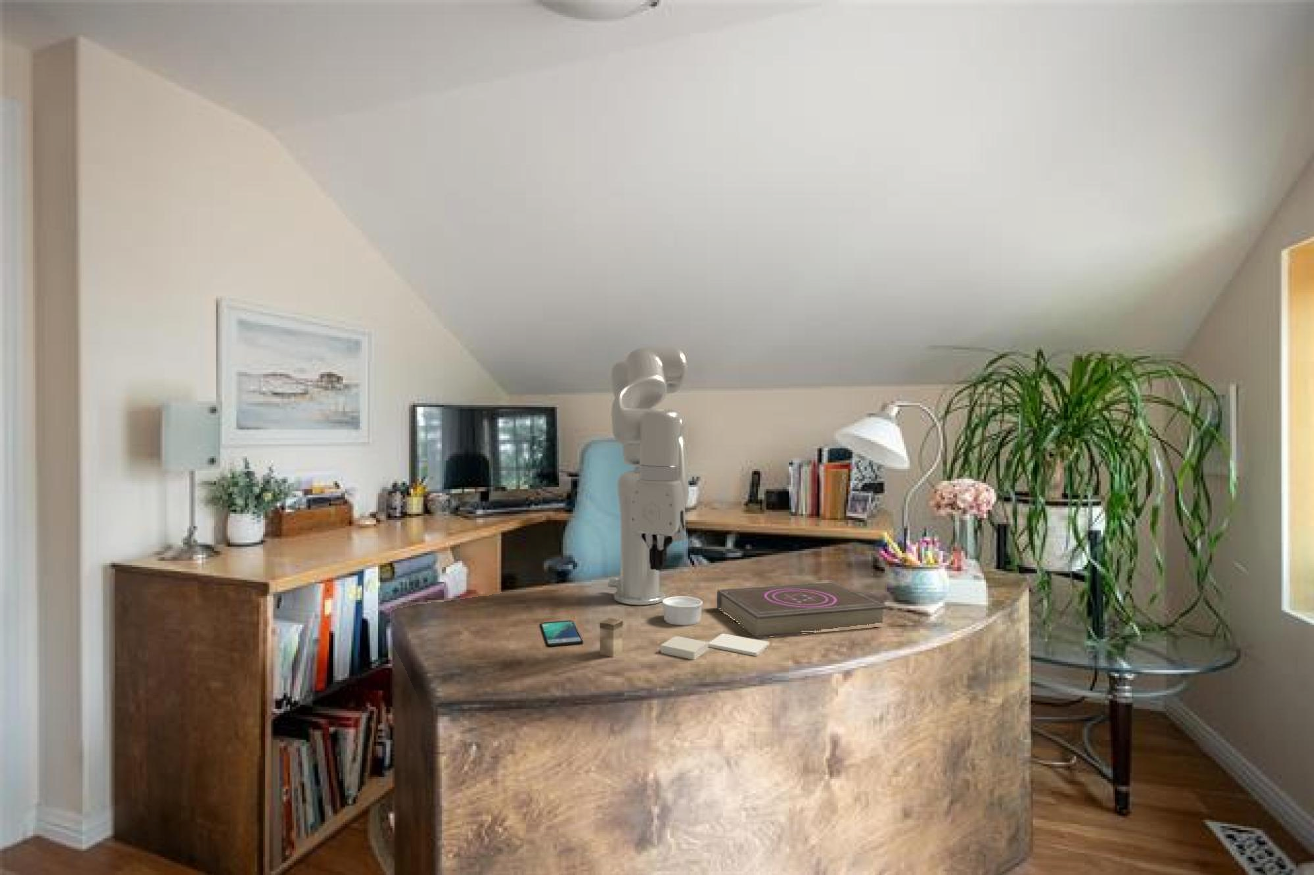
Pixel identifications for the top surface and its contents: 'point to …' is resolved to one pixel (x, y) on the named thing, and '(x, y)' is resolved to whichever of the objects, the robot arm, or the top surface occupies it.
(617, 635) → the small cardboard box
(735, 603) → the book
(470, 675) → the top surface
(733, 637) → the mat
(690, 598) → the ramekin
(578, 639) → the smartphone
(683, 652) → the tile
